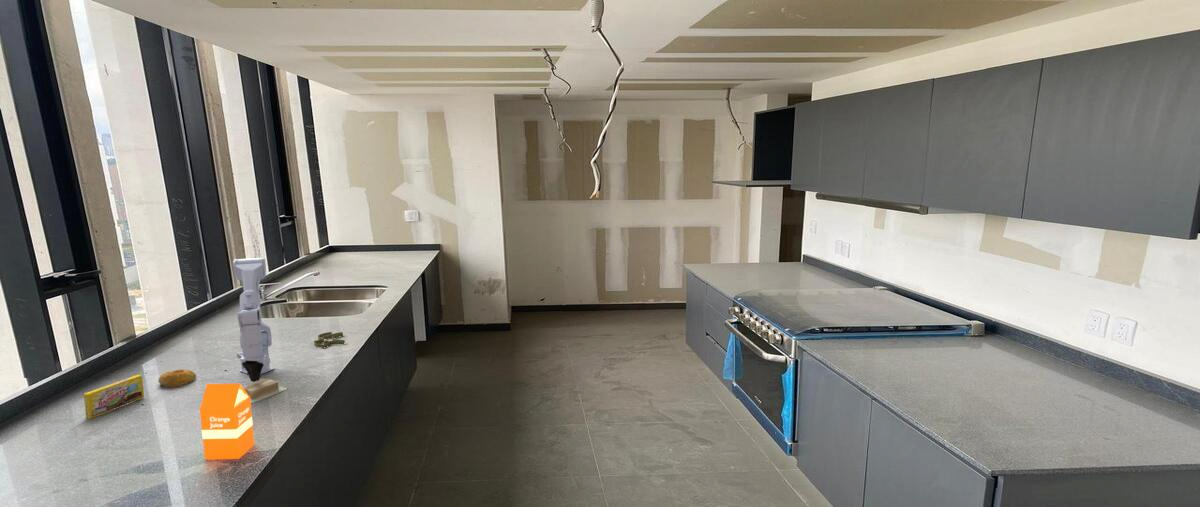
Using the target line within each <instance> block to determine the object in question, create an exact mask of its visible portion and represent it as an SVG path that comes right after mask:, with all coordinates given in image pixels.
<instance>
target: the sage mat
mask: <svg viewBox="0 0 1200 507" xmlns="http://www.w3.org/2000/svg"><path fill="white" fill-rule="evenodd" d="M278 386H279V385H278ZM287 390H288V388H286V387H283V386H279V390H277V391H275V392H272V393H270V394H267V395H264V396H262V397H259V398H257V399H254V400H252V399H250V403H251V405H252V404H254V403H257V402H259V401H263V400H265V399H267V398H269V397H272V396H275V395H277V394H279V393H282V392H285V391H287ZM274 394H275V395H274Z"/></svg>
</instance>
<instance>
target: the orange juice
mask: <svg viewBox="0 0 1200 507" xmlns="http://www.w3.org/2000/svg"><path fill="white" fill-rule="evenodd" d="M205 386H206V387H205V390H204V393H203V397H202V399H201V403H200V406H199V413H200V414H199V415H200V416H199V417H200V426H201V436H202V443H203V453H204V460H205V459H206V460H207V459H208V460H237V459H240V458H242V456H244V455H245V454H246V453H247V452H248V451H249V450H250V449H252V448H253V446H255V440H254V439H255V438H254V427H253V425H254V424H253V423H254V422H253V416H252V404H251V403H250V397H249V395H248V394H247V393H246V391H245V390H244V389H243V387H242V384H241V383H206V385H205Z"/></svg>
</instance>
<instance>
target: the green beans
mask: <svg viewBox="0 0 1200 507" xmlns="http://www.w3.org/2000/svg"><path fill="white" fill-rule="evenodd" d="M339 336H342V337H344V332H343V331H341V332H340V331H339V332H336V333H333V332H332V331H328V332H324V333H320V334H318V335H317V338H318V339H317V340H314V341H313V345H314V347H315V346H316V347H315V348H318V347H322V348H323V349H325V348H328V347H329V346H330V344H344V343H345V344H346V339H338V338H337V337H339ZM321 337H322V338H321ZM331 337H332V338H331ZM328 338H330V339H331V340H329V339H328ZM334 338H336V339H334ZM339 338H340V337H339ZM324 339H326V340H324ZM322 342H324V343H322ZM318 343H319V344H318ZM345 344H344V345H345ZM327 346H328V347H327ZM324 347H325V348H324ZM322 348H321V349H322Z"/></svg>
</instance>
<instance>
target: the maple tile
mask: <svg viewBox="0 0 1200 507" xmlns="http://www.w3.org/2000/svg"><path fill="white" fill-rule="evenodd" d="M241 386H242V385H241ZM242 387H243V389H244V390H245V391H246V393H247V394H248V395H249V397H250V399H252V400H254V399H257V398H259V397H262V396H264V395H267V394H270V393H272V392H275V391H277V390H279V381H277V380H272V379H269V378H265V377H264V378H262V379H261V378H260V379H259V380H258V381H255V382H251V383H248V384H245V385H243V386H242Z"/></svg>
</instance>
